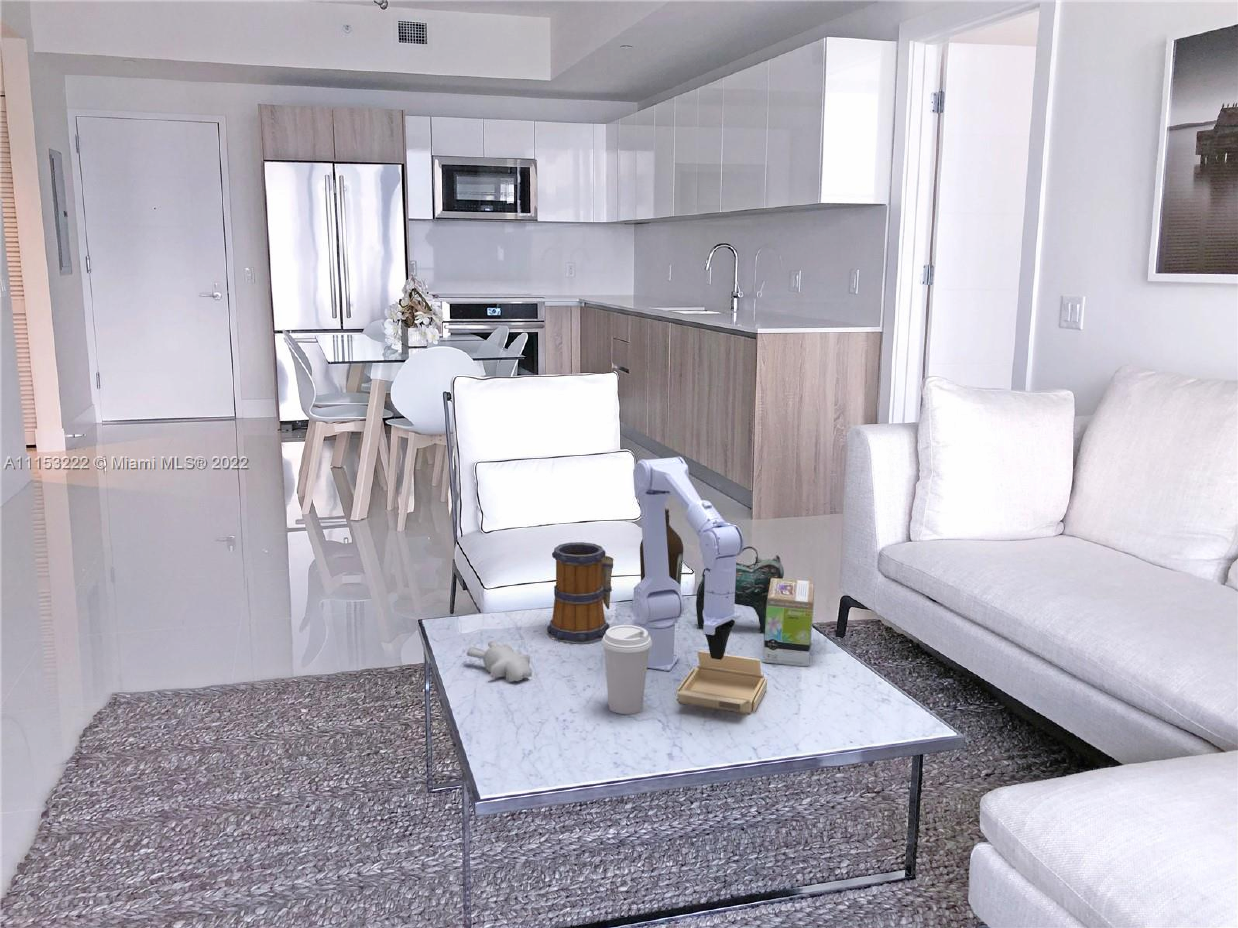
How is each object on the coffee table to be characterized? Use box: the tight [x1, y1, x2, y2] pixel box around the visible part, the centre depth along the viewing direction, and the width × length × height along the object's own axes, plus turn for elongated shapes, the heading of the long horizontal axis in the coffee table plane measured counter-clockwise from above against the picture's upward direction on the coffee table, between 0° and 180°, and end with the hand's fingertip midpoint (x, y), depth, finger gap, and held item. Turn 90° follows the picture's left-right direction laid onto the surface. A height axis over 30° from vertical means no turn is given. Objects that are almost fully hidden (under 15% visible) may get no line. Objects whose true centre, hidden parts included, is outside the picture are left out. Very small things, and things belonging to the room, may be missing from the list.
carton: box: [676, 664, 768, 715], centre depth 195 cm, size 15×13×3 cm
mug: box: [546, 541, 614, 645], centre depth 228 cm, size 19×14×20 cm
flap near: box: [676, 690, 747, 704], centre depth 187 cm, size 13×1×4 cm
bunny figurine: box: [466, 640, 533, 683], centre depth 205 cm, size 10×5×15 cm
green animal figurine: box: [695, 545, 785, 634], centre depth 229 cm, size 20×6×20 cm, turn 82°
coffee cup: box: [600, 624, 652, 715], centre depth 188 cm, size 10×10×15 cm
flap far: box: [697, 650, 762, 675], centre depth 199 cm, size 13×1×4 cm
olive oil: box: [639, 507, 684, 593], centre depth 243 cm, size 11×11×25 cm
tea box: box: [762, 578, 815, 667], centre depth 217 cm, size 15×10×15 cm
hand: (717, 657), depth 189 cm, fingers closed
